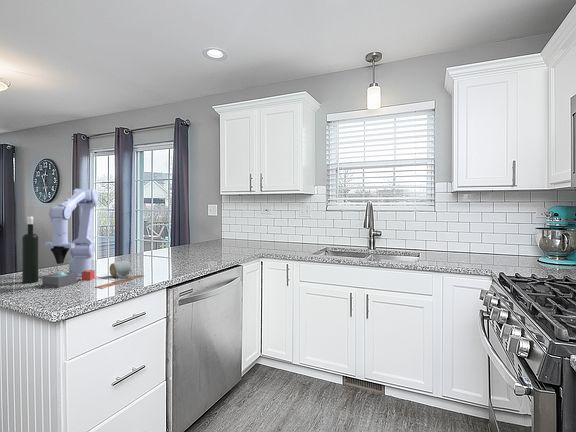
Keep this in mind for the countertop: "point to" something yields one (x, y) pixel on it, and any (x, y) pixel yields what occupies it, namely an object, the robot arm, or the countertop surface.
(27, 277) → the wine bottle
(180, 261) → the countertop surface
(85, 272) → the die
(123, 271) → the ceramic mug
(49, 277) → the dome housing
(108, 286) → the tile track
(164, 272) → the countertop surface
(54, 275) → the dome
